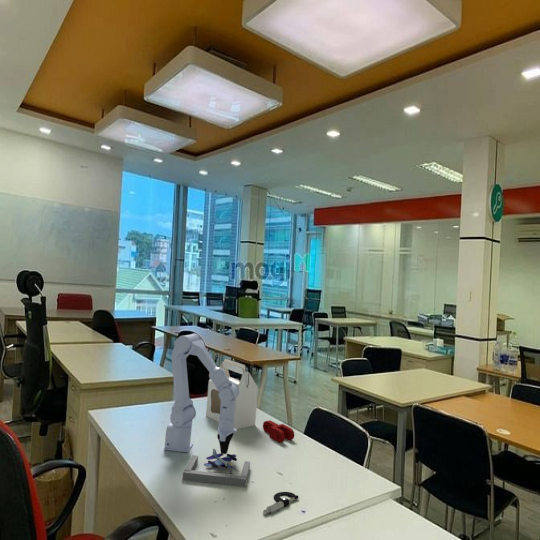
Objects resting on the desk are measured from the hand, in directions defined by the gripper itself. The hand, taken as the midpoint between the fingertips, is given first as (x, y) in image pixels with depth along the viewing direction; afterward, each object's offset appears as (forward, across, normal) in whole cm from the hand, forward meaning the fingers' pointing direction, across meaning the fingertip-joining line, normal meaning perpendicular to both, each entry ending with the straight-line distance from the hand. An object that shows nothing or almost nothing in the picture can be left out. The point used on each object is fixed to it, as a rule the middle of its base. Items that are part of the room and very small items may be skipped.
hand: (223, 453), depth 150 cm
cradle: (+2, -12, 0) cm, 13 cm away
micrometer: (+3, -26, -21) cm, 33 cm away
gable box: (+2, +40, +4) cm, 40 cm away
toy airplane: (+2, -8, -2) cm, 9 cm away
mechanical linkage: (+2, +27, -18) cm, 33 cm away
